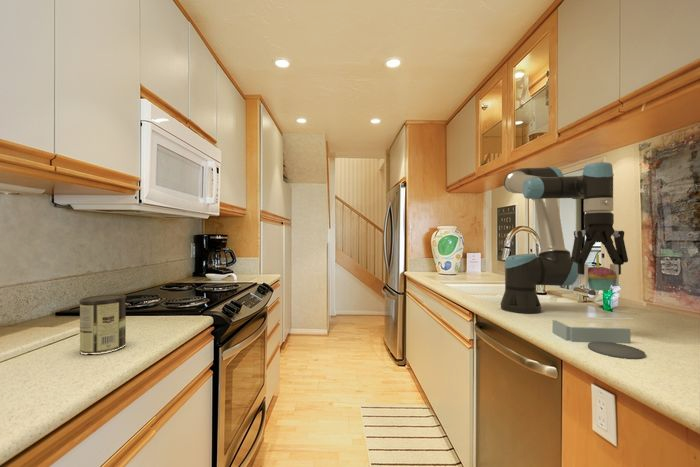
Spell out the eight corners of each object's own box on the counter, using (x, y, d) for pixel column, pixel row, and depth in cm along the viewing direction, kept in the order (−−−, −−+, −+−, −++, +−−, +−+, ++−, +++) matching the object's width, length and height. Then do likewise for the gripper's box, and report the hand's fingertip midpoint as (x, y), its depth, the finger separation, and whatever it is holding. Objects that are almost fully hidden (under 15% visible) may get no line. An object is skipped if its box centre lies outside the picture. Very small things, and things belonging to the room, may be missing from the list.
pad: (578, 343, 96) (578, 341, 96) (623, 344, 95) (623, 342, 95) (606, 358, 84) (606, 355, 84) (658, 359, 83) (658, 357, 83)
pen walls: (552, 332, 107) (552, 320, 107) (609, 334, 105) (609, 321, 105) (568, 341, 98) (568, 327, 98) (630, 343, 96) (630, 329, 96)
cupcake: (612, 292, 99) (612, 251, 99) (579, 289, 105) (578, 250, 105) (620, 289, 104) (619, 251, 104) (587, 286, 111) (587, 250, 111)
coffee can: (106, 341, 97) (107, 293, 98) (134, 344, 95) (135, 295, 95) (68, 353, 88) (69, 299, 88) (98, 357, 85) (99, 301, 85)
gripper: (570, 211, 102) (570, 286, 102) (643, 211, 100) (644, 287, 100) (556, 213, 110) (557, 283, 109) (625, 213, 108) (626, 284, 108)
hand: (599, 285), depth 105 cm, fingers closed on cupcake, 8 cm apart
